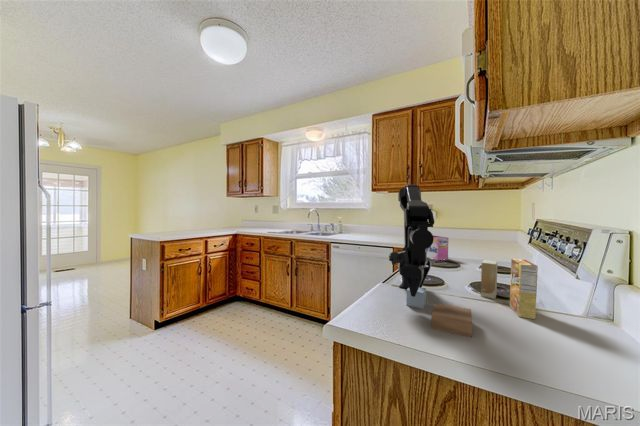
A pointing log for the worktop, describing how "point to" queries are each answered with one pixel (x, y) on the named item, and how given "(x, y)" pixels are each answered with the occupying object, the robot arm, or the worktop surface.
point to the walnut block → (452, 319)
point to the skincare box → (489, 279)
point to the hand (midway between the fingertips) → (416, 292)
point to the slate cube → (417, 298)
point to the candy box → (523, 288)
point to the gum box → (438, 248)
